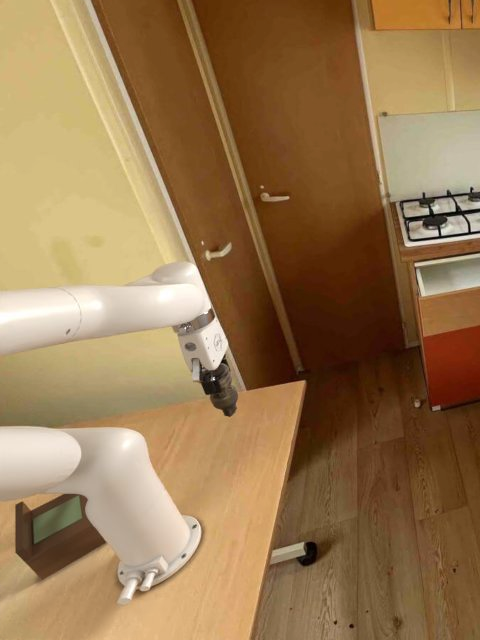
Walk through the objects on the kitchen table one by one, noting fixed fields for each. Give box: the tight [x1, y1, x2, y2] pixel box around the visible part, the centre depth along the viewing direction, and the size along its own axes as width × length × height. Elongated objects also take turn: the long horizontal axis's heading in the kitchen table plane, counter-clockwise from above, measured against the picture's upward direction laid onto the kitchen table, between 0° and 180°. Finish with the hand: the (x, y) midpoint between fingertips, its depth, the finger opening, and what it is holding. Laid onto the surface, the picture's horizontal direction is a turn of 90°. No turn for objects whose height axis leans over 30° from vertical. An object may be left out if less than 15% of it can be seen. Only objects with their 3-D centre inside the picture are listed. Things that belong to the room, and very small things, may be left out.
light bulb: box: [202, 363, 239, 418], centre depth 98 cm, size 6×6×15 cm
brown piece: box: [14, 494, 107, 581], centre depth 81 cm, size 9×12×9 cm
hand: (218, 382), depth 97 cm, fingers closed on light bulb, 5 cm apart
